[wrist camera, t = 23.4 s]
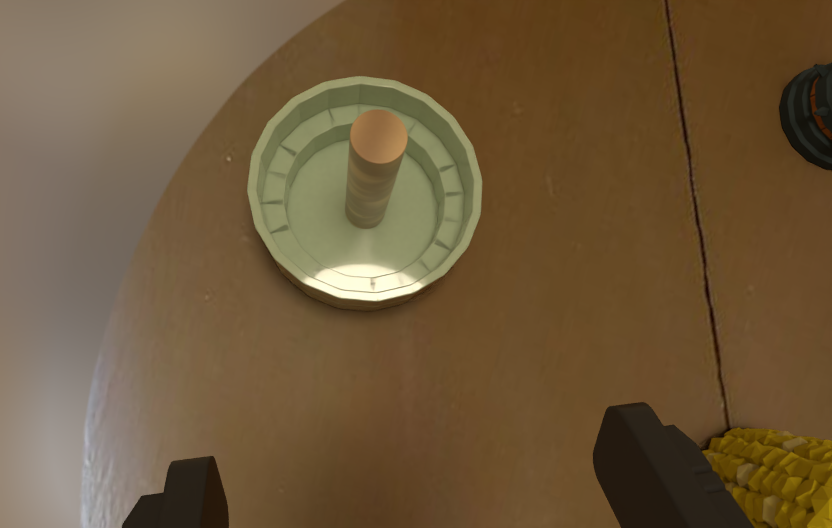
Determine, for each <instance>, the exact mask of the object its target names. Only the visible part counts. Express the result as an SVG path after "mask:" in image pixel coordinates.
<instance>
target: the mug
mask: <svg viewBox="0 0 832 528" xmlns="http://www.w3.org/2000/svg"><path fill="white" fill-rule="evenodd" d="M779 108H780V115H781V122H782V128H783V129H784V131H785V133H786V135H787V137H788V139H789V141H790V143H791V145H792V146H793V147H794V148H795V149H796V150H797V151H798V152H799V153H800V154H801V155H802V156H803V157H804V158H805V159H806V160H807V161H809V162H811V163H814V164H816V165H818V166H820V167H823V168H825V169H829V170H832V63H829V64H827V65H817V64H816V65H814V66H813V68H810V69H808V70H805V71H803V72H801V73H800V74H798V75H797V76H795V77H794V79H793V80H792V81H791V82H790V83H789V84H788V85H787V87H786V88H785V89H784V92H783V95H782V99H781V103H780V107H779Z"/></svg>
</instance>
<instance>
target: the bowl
mask: <svg viewBox="0 0 832 528" xmlns="http://www.w3.org/2000/svg"><path fill="white" fill-rule="evenodd" d="M376 109H379V110H386V111H389V112H391V113H393V114H394V115H396V116H397V117H398V118H399V119H400V120H401V121H402V122H403V124H404V125H405V128H406V130H407V135H408V141H407V146H406V149H405V152H404V155H403V159H402V162H401V165H400V168H399V171H398V174H397V177H396V180H395V184H394V187H393V190H392V193H391V196H390V199H389V202H388V206H387V209H386V212H385V215H384V218H383V220H382V221H381V222H380V223H379V224H378V225H377V226H375V227H373V228H370V229H361V228H358V227H356V226H354V225H353V224H351V223H350V221H349V220H348V218H347V216H346V213H345V202H346V186H347V171H348V155H349V139H350V130H351V126H352V124H353V122H354V121H355V120H356V118H357V117H358V116H360V115H361V114H363V113H364V112H367V111H370V110H376ZM247 193H248V198H249V202H250V207H251V212H252V217H253V221H254V226H255V228H256V230H257V232H258V233H259V235H260V237H261V239H262V241H263V242H264V244H265V246H266V248H267V249H268V251H269V253H270V254H271V256H272V258H273V259H274V261H275V263H276V264H277V266H278V268H279V269H280V271H281V273H282V274H283V275H284V276H285V277H286V278H288V279H289V280H290V281H291V282H292V283H293V284H295V285H296V286H297V287H298V288H299V289H300V290H302V291H303V292H304V293H305V294H306V295H308V296H309V297H312V298H314V299H317V300H319V301H322V302H324V303H326V304H329V305H331V306H334V307H336V308H339V309H351V310H363V311H375V310H379V309H383V308H387V307H391V306H396V305H400V304H403V303H405V302H407V301H409V300H410V299H412V298H414V297H415V296H417V295H419V294H420V293H422V292H423V291H425V290H427V289H428V288H430V287H431V286H432V285H433V284H435V283H436V282H437V281H438V280H439V279H440V278H441V277H443V276H444V275H445V274H446V273H447V272H448V271H449V269H450V268H451V267H452V266H453V265H454V263H455V262H456V261H457V260H458V259H459V257H460V256H461V255H462V254H463V253H464V251H465V250H466V249H467V248H468V246H469V244H470V241H471V238H472V236H473V233H474V231H475V228H476V226H477V223H478V220H479V218H480V214H481V199H482V177H481V173H480V170H479V166H478V163H477V159H476V155H475V152H474V148H473V146H472V144H471V143H470V141H469V140H468V138H467V137H466V135H465V133H464V132H463V130H462V129H461V127H460V126H459V124H458V123H457V121H456V120H455V118H454V117H453V116H452V115H451V114H450V113H448V112H447V111H446V110H445V109H444V108H443V107H441V106H440V105H439V104H438V103H437V102H435V101H434V100H433V99H432V98H431V97H430V96H428V95H427V94H425V93H422V92H420V91H418V90H416V89H413V88H411V87H409V86H407V85H404V84H402V83H400V82H398V81H394V80H387V79H379V78H372V77H364V76H360V77H359V76H356V77H350V78H344V79H338V80H332V81H326V82H323V83H321V84H319V85H317V86H315V87H313V88H311V89H309V90H307V91H305V92H303V93H301V94H299V95H297V96H295V97H293V98H292V99H291V100H290V101H289V102H288V103H287V104H286V105H285V106H284V107H283V108H282V109H281V110H280V111H279V112H278V113H277V114H276V115H275V116H274V117H273V118H272V119H271V120H270V121H269V122H268V123H267V124H266V126H265V128H264V130H263V132H262V134H261V137H260V139H259V141H258V143H257V145H256V147H255V149H254V151H253V153H252V155H251V162H250V170H249V178H248V186H247Z"/></svg>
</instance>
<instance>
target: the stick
mask: <svg viewBox="0 0 832 528" xmlns="http://www.w3.org/2000/svg"><path fill="white" fill-rule="evenodd" d="M407 141H408V135H407V130H406V128H405V125H404V124H403V122H402V121H401V120H400V119H399V118H398V117H397V116H396V115H394V114H393V113H391V112H389V111H386V110H379V109H376V110H370V111H367V112H364V113H363V114H361V115H360V116H358V117H357V118H356V120H355V121H354V122H353V124H352V126H351V130H350V139H349V155H348V171H347V186H346V202H345V213H346V216H347V218H348V220H349V221H350V223H351V224H353V225H354V226H356V227H358V228H361V229H370V228H373V227H375V226H377V225H378V224H379V223H380V222H381V221H382V220H383V218H384V215H385V212H386V209H387V206H388V202H389V199H390V196H391V193H392V190H393V187H394V184H395V180H396V177H397V174H398V171H399V168H400V165H401V162H402V159H403V155H404V152H405V149H406V146H407Z"/></svg>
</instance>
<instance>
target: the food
mask: <svg viewBox="0 0 832 528" xmlns="http://www.w3.org/2000/svg"><path fill="white" fill-rule="evenodd" d="M702 453H703V454H704V455H705V457H706V458H707V460H708V461H709V463H710V464H711V466H712V470H713V471H716V473H717V474H718V476H719V477H720V479H721V480H722V481H723V483H724V484H725V488H726V490H729V492H730V493H731V494H732V496H733V497H734V499H735V500H736V502H737V503H738V505H739V506H740V507H741V509H742V510H743V512H744V513H745V515H746V516H747V518H748V519H749V520H750V522H751V523H752V525H753V526H754V528H832V441H831V440H825V439H824V440H821V439H818V438H814V437H807V436H794V435H792V434H791V433H789V432H787V431H783V432H781V431H778V430H772V429H770V430H769V429H749V428H745V429H741V428H739V427H738V428H733V429H731V430H730V431H728V432H726V433H725V434H724V437H721V438H711V442H710V445H709V449H708V450H704V451H702Z"/></svg>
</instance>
